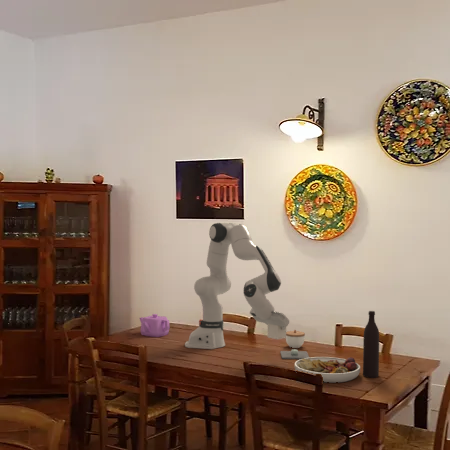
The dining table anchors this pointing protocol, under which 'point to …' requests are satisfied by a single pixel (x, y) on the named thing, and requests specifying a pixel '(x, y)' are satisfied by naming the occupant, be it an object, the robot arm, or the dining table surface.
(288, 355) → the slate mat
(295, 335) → the lidded jar
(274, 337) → the white square canister
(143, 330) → the teakettle
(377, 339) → the wine bottle
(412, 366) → the dining table surface
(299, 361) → the bowl
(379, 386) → the dining table surface
